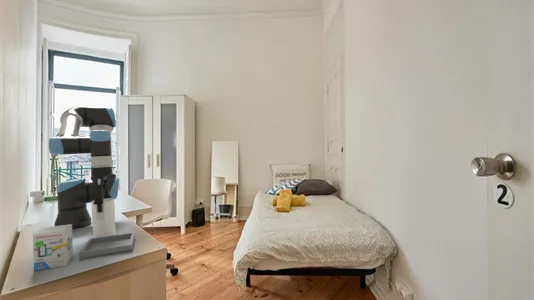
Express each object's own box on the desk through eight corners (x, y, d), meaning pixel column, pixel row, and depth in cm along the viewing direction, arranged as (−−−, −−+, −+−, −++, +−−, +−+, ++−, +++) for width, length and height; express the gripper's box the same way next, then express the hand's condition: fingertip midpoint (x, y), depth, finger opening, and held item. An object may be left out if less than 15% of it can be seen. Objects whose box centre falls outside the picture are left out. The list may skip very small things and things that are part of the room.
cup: (105, 241, 107) (103, 202, 107) (88, 240, 109) (86, 202, 108) (120, 234, 115) (118, 198, 115) (104, 234, 117) (102, 198, 116)
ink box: (33, 271, 82) (31, 234, 82) (43, 261, 89) (42, 227, 89) (66, 265, 85) (65, 230, 85) (73, 256, 93) (72, 223, 93)
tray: (89, 244, 104) (89, 238, 104) (134, 237, 110) (134, 232, 110) (79, 259, 89) (78, 253, 89) (131, 251, 95) (131, 244, 95)
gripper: (97, 166, 121) (99, 211, 121) (83, 168, 99) (86, 224, 98) (115, 165, 124) (117, 209, 124) (106, 167, 101) (109, 221, 101)
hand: (103, 216), depth 111 cm, fingers open, 13 cm apart
